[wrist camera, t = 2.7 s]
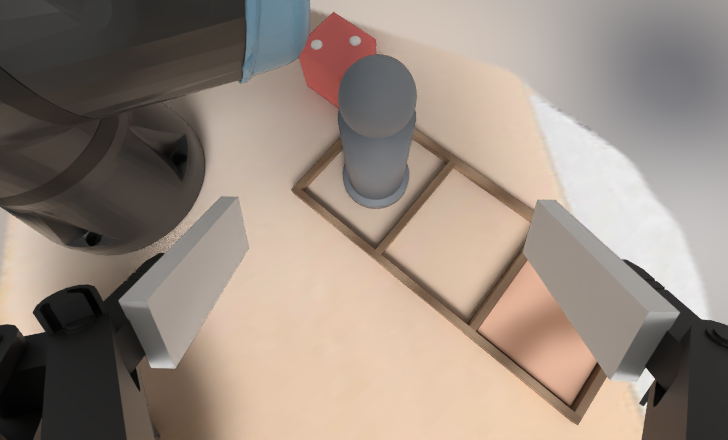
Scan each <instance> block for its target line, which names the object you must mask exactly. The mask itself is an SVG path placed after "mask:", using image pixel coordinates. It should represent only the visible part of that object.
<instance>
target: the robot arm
mask: <svg viewBox="0 0 728 440" xmlns="http://www.w3.org/2000/svg"><path fill="white" fill-rule="evenodd" d="M309 28H310V0H0V207H1V208H3V209H4V210H6V211H7V212H9V213H10V214H12V215H13V216H15V217H16V218H18V219H19V220H21V221H22V222H24V223H25V224H27V225H28V226H30V227H31V228H33V229H34V230H36V231H37V232H39V233H40V234H42V235H44V236H45V237H47V238H48V239H50V240H51V241H53V242H55V243H57V244H60V245H62V246H65V247H68V248H71V249H75V250H80V251H84V252H89V253H94V254H100V255H116V254H123V253H128V252H132V251H135V250H139V249H141V248H144V247H146V246H148V245H150V244H152V243H154V242H156V241H158V240H159V239H161V238H162V237H164V236H165V235H166V234H168V233H169V232H170V231H171V230H173V229H174V228H175V227H176V226H177V225H178V224H179V223H180V222H181V221H182V220H183V218H184V217H185V216H186V215H187V213H188V212H189V211H190V209H191V208H192V206H193V204H194V202H195V201H196V199H197V196H198V194H199V192H200V189H201V186H202V182H203V177H204V155H203V150H202V147H201V144H200V141H199V139H198V137H197V136H196V134H195V133H194V131H193V130H192V129H191V128H190V127H189V125H188V124H187V123H186V122H185V121H184V120H183V119H182V118H181V117H180V116H179V115H178V114H177V113H175V112H174V111H173V110H172V109H170V108H169V107H168V106H166V105H164V104H163V103H161V102H163V101H166V100H170V99H173V98H177V97H180V96H184V95H188V94H191V93H195V92H198V91H202V90H206V89H209V88H213V87H216V86H220V85H223V84H227V83H231V82H234V81H238V82H239V83H245V82H247V81H248V80H250V79H251V77H252V76H254V75H257V74H260V73H263V72H266V71H269V70H272V69H275V68H278V67H281V66H284V65H287V64H289V63H291V62H293V61H294V60H296V59H297V58H298V57H299V55H300V54H301V52H302V51H303V49H304V47H305V45H306V42H307V40H308V36H309ZM248 249H249V245H248V241H247V236H246V231H245V227H244V222H243V217H242V212H241V208H240V203H239V198H238V197H220V198H219V199H218V200H217V202H216V203H215V204H214V205H213V206H212V207H211V208H210V209H209V210H208V211H207V212H206V213H205V214H204V215H203V216H202V217H201V218H200V219H199V220H198V221H197V222H196V223H195V224H194V225H193V226H192V227H191V228H190V229H189V230H188V231H187V232H186V233H185V234H184V235H183V236H182V237H181V238H180V239H179V240H178V241H177V242H176V243H175V244H174V245H173V246H172V247H171V248H170V249H169V250H168V251H167V252H166V253H159V254H157V255H156V256H154V257H152V258H150V259H149V260H147V261H145V262H144V263H143V264H142V265H141V266H140V267H139V268H138V269H137V270H136V273H133V274H132V275H131V276H130V277H129V278H128V280H127V281H125V282H124V283H123V284H121V285H120V286H119V287H118V288H117V289H116V290H115V291H114V292H113V293H112V294H111V295H110V296H109V297H108V298H107V299H106V300H105V301H104V302H103V300H102V298H101V296H100V294H99V293H98V291H97V289H96V288H95V286H91V285H77V286H73V287H69V288H65V289H63V290H60V291H58V292H56V293H54V294H52V295H50V296H49V297H47V298H45V299H44V300H42V301H41V302H40V303H39V304H38V305H37V306H36V307H35V309H34V311H33V314H34V315H35V317H36V318H37V320H38V321H39V323H40V324H41V326H42V327H43V329H44V330H45V332H43V333H38V334H34V335H29V336H23V335H22V333H21V332H20V331H19V329H18V328H17V327H16V326H15V325H9V324H6V325H0V440H154V435H153V430H152V426H151V421H150V416H149V411H148V406H147V402H146V397H145V392H144V387H143V383H142V378H141V373H140V371H139V369H138V367H137V365H138V364H139V362H140V361H141V360H142V358H143V357H144V356H146V358H147V360H148V362H149V364H150V366H151V368H176V367H177V365H178V363H179V362H180V360H181V359H182V357H183V355H184V354H185V352H186V350H187V349H188V347H189V346H190V344H191V342H192V341H193V339H194V337H195V336H196V334H197V332H198V331H199V329H200V328H201V326H202V324H203V323H204V321H205V319H206V318H207V316H208V315H209V313H210V311H211V310H212V308H213V306H214V305H215V303H216V301H217V300H218V298H219V297H220V295H221V293H222V292H223V290H224V288H225V287H226V285H227V284H228V282H229V280H230V279H231V277H232V275H233V274H234V272H235V270H236V269H237V267H238V266H239V264H240V262H241V261H242V259H243V257H244V256H245V254H246V253H247V251H248ZM523 254H524V255H525V257H526V258H527V259H528V261H529V262H530V264H531V265H532V267H533V268H534V270H535V271H536V273H537V274H538V276H539V277H540V279H541V280H542V281H543V283H544V284H545V286H546V287H547V289H548V290H549V292H550V293H551V295H552V296H553V298H554V299H555V300H556V302H557V303H558V305H559V306H560V308H561V309H562V311H563V312H564V314H565V315H566V317H567V318H568V320H569V321H570V322H571V324H572V325H573V327H574V328H575V330H576V331H577V333H578V334H579V336H580V337H581V339H582V340H583V342H584V343H585V344H586V346H587V347H588V349H589V350H590V352H591V353H592V355H593V356H594V358H595V359H596V361H597V362H598V364H599V365H600V366H601V368H602V369H603V371H604V372H605V374H606V375H607V377H608V378H609V380H610V381H637V380H638V379H639V377H640V376H641V374H642V372H643V371H644V369H645V368H647V369H648V371H649V372H650V373H651V374H652V375H653V377H654V378H655V380H654V382H653V383H652V385H651V386H650V388H649V389H648V391H647V392H646V394H645V395H644V397H643V398H642V400H641V401H640V403H639V404H641V405H643V406H644V405H645V404H646V402H647V409H646V415H645V422H644V428H643V435H642V440H728V326H727V325H725V324H722V323H719V322H715V321H712V320H701V319H700V318H699V317H698V316H697V315H696V314H694V313H693V312H692V311H691V310H690V309H689V308H687V307H686V306H685V305H684V304H683V303H682V302H680V301H679V300H678V299H677V298H676V297H675V296H674V295H672V294H671V293H670V292H669V291H668V290H665V289H664V287H663V286H662V285H661V284H660V283H659V282H657V281H655V279H654V278H653V277H652V276H650V275H649V274H648V273H647V272H646V271H645V270H643V269H642V268H640V267H639V266H637V265H635V264H633V263H631V262H630V261H628V260H621V259H620V258H619V257H618V256H617V255H616V254H615V253H614V252H613V251H611V250H610V249H609V248H608V247H607V246H606V245H605V244H604V243H603V242H601V241H600V240H599V239H598V238H597V237H596V236H595V235H594V234H593V233H591V232H590V231H589V230H588V229H587V228H586V227H585V226H584V225H583V224H581V223H580V222H579V221H578V220H577V219H576V218H575V217H574V216H573V215H572V214H570V213H569V212H568V211H567V210H566V209H565V208H564V207H563V206H562V205H560V204H559V203H558V202H557V201H556V200H537V203H536V206H535V210H534V214H533V217H532V221H531V224H530V228H529V232H528V235H527V239H526V242H525V246H524V250H523Z"/></svg>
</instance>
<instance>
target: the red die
mask: <svg viewBox="0 0 728 440" xmlns="http://www.w3.org/2000/svg"><path fill="white" fill-rule="evenodd" d="M369 55H376V39H374V38H373V37H371V36H370V35H368V34H367V33H365V32H364V31H362V30H361V29H359V28H357V27H356V26H354V25H353V24H351V23H350V22H348V21H347V20H345V19H344V18H342V17H341V16H339V15H337V14H336V13H334V12H333V13H332V14H331V15H330V16H329V17H328V18H327V19H325V20H324V21H323V22H322V23H321V24H320V25H319V26H318V27H317V28H316V29H315V30H314V31H313V32H312V33H311V34H309V36H308V40H307V42H306V45H305V47H304V49H303V51H302V52H301V54H300V55H299V59H300V62H301V66H302V69H303V73H304V76H305V79H306V83H307V85H308V86H309V87H310V88H312V89H313V90H314V91H316V92H317V93H319V94H320V95H321V96H323V97H324V98H326V99H327V100H328V101H330V102H331V103H332V104H334V105H335V106H337V107H338V108H339V105H338V90H339V85H340V82H341V79H342V77H343V75H344V74H345V72H346V71H347V69H348V68H349V67H350V66H351V65H352V64H353V63H355V62H356V61H357V60H359V59H361V58H363V57H366V56H369Z"/></svg>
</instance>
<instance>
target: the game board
mask: <svg viewBox="0 0 728 440" xmlns="http://www.w3.org/2000/svg"><path fill="white" fill-rule="evenodd" d="M412 139H413V140H415V141H416V142H418V143H419V144H421V145H422V146H423V147H425V148H426V149H428V150H429V151H430V152H432V153H433V154H435V155H436V156H438V157H439V158H440V159H442V160H443V161H445V162H446V163H447V165H446V166H445V167H444V168H443V169H442V171H441V172H440V173H439V174H438V175H437V177H436V178H435V179H434V180H433V181H432V183H431V184H430V185H429V186H428V187H427V189H426V190H425V191H424V192H423V193H422V195H421V196H420V197H419V198H418V199H417V201H416V202H415V203H414V204H413V205H412V206H411V208H410V209H409V210H408V211H407V212H406V214H405V215H404V216H403V217H402V218H401V220H400V221H399V222H398V223H397V224H396V226H395V227H394V228H393V229H392V230H391V232H390V233H389V234H388V235H387V236H386V238H385V239H384V240H383V241H382V242H381V244H380V245H379V246H378V247H377V248H376V250H375V249H374V248H373V247H371V246H370V245H369V244H368V243H366V242H365V241H364V240H363V239H361V238H360V237H359V236H358V235H357V234H355V233H354V232H353V231H352V230H350V229H349V228H348V227H347V226H345V225H344V224H343V223H342V222H341V221H339V220H338V219H337V218H336V217H334V216H333V215H332V214H331V213H330V212H328V211H327V210H326V209H325V208H323V207H322V206H321V205H320V204H318V203H317V202H316V201H315V200H314V199H312V198H311V197H310V196H309V195H307V194H306V193H305V192H304V190H305V189H306V188H307V186H308V185H309V184H310V183H311V182H312V181H313V180H314V179H315V178H316V177H317V176H318V175H319V174H320V173H321V171H322V170H323V169H324V168H325V167H326V166H327V165H328V164H329V163H330V162H331V161H332V160H333V159H334V158H335V157H336V155H337V154H338V153H339V152H340V151H341V150H342V149H343V145H342V140H341V138H340V139H339V140H338V141H337V142H336V143H335V144H334V145H333V146H332V147H331V148H330V149H329V150H328V151H327V152H326V153H325V154H324V156H323V157H322V158H321V159H320V160H319V161H318V162H317V163H316V164H315V165H314V166H313V167H312V168H311V169H310V170H309V171H308V172H307V173H306V175H305V176H304V177H303V178H302V179H301V180H300V181H299V182H298V183H297V184H296V185H295V186H294V187H293V188H292V189H291V190H292V192H293V193H294V194H295V195H296V196H298V197H299V198H300V199H301V200H303V201H304V202H305V203H306V204H307V205H309V206H310V207H311V208H312V209H314V210H315V211H316V212H317V213H318V214H320V215H321V216H322V217H323V218H324V219H326V220H327V221H328V222H329V223H331V224H332V225H333V226H334V227H335V228H337V229H338V230H339V231H340V232H341V233H343V234H344V235H345V236H346V237H348V238H349V239H350V240H351V241H352V242H354V243H355V244H356V245H357V246H358V247H360V248H361V249H362V250H363V251H365V252H366V253H367V254H368V255H369V256H371V257H372V258H373V259H374V260H375V261H377V262H378V263H379V264H380V265H382V266H383V267H384V268H385V269H386V270H388V271H389V272H390V273H391V274H393V275H394V276H395V277H396V278H397V279H399V280H400V281H401V282H402V283H403V284H405V285H406V286H407V287H408V288H410V289H411V290H412V291H413V292H414V293H416V294H417V295H418V296H419V297H420V298H422V299H423V300H424V301H425V302H427V303H428V304H429V305H430V306H431V307H433V308H434V309H435V310H436V311H437V312H439V313H440V314H441V315H442V316H444V317H445V318H446V319H447V320H448V321H450V322H451V323H452V324H453V325H455V326H456V327H457V328H458V329H459V330H461V331H462V332H463V333H464V334H465V335H467V336H468V337H469V338H470V339H472V340H473V341H474V342H475V343H476V344H478V345H479V346H480V347H481V348H482V349H484V350H485V351H486V352H487V353H489V354H490V355H491V356H492V357H493V358H495V359H496V360H497V361H498V362H499V363H501V364H502V365H503V366H504V367H506V368H507V369H508V370H509V371H510V372H512V373H513V374H514V375H515V376H516V377H518V378H519V379H520V380H521V381H523V382H524V383H525V384H526V385H527V386H529V387H530V388H531V389H532V390H534V391H535V392H536V393H537V394H538V395H540V396H541V397H542V398H543V399H544V400H546V401H547V402H548V403H549V404H551V405H552V406H553V407H554V408H555V409H557V410H558V411H559V412H560V413H561V414H563V415H564V416H565V417H566V418H568V419H569V420H570V421H571V422H573V423H575V424H576V425H578V424H579V423H580V421H581V419H582V418H583V416H584V414H585V413H586V411H587V409H588V408H589V406H590V404H591V402H592V401H593V399H594V397H595V396H596V394H597V392H598V391H599V389H600V387H601V386H602V384H603V382H604V381H605V379H606V377H607V375H606V374H605V372H604V371H603V369H602V368H601V366H600V365H599V364H598V362H597V361H596V359H595V358H594V356H593V355H592V353H591V352H590V350H589V349H588V347H587V346H586V344H585V343H584V342H583V340H582V339H581V337H580V336H579V334H578V333H577V331H576V330H575V328H574V327H573V325H572V324H571V322H570V321H569V320H568V318H567V317H566V315H565V314H564V312H563V311H562V309H561V308H560V306H559V305H558V303H557V302H556V300H555V299H554V298H553V296H552V295H551V293H550V292H549V290H548V289H547V287H546V286H545V284H544V283H543V281H542V280H541V279H540V277H539V276H538V274H537V273H536V271H535V270H534V268H533V267H532V265H531V264H530V262H529V261H528V259H527V258H526V257H525V255H524V254H523V250H524V247H523V249H522V250H521V251H520V253H519V254H518V255H517V257H516V258H515V260H514V261H513V262H512V264H511V265H510V267H509V268H508V269H507V271H506V272H505V273H504V275H503V276H502V278H501V279H500V280H499V282H498V283H497V285H496V286H495V287H494V289H493V290H492V291H491V293H490V294H489V296H488V297H487V298H486V300H485V301H484V303H483V304H482V305H481V307H480V308H479V309H478V311H477V312H476V314H475V315H474V316H473V318H472V319H471V321H470V322H469V323H468V325H467V324H466V323H465V322H463V321H462V320H461V319H460V318H458V317H457V316H456V315H455V314H454V313H452V312H451V311H450V310H449V309H447V308H446V307H445V306H444V305H442V304H441V303H440V302H439V301H438V300H436V299H435V298H434V297H433V296H431V295H430V294H429V293H428V292H427V291H425V290H424V289H423V288H422V287H420V286H419V285H418V284H417V283H415V282H414V281H413V280H412V279H411V278H409V277H408V276H407V275H406V274H404V273H403V272H402V271H401V270H400V269H398V268H397V267H396V266H395V265H393V264H392V263H391V262H390V261H388V260H387V259H386V258H385V257H384V256H382V253H383V252H384V251H385V250H386V249H387V247H388V246H389V245H390V244H391V243H392V241H393V240H394V239H395V238H396V237H397V235H398V234H399V233H400V232H401V231H402V229H403V228H404V227H405V226H406V225H407V223H408V222H409V221H410V220H411V218H412V217H413V216H414V215H415V214H416V212H417V211H418V210H419V209H420V208H421V206H422V205H423V204H424V203H425V202H426V200H427V199H428V198H429V197H430V196H431V194H432V193H433V192H434V191H435V190H436V188H437V187H438V186H439V185H440V183H441V182H442V181H443V180H444V179H445V177H446V176H447V175H448V174H449V173H450V171H451V170H452V169H453V168H454V169H456V170H457V171H459V172H460V173H462V174H463V175H464V176H466V177H467V178H469V179H470V180H471V181H473V182H474V183H476V184H477V185H479V186H480V187H481V188H483V189H484V190H486V191H487V192H488V193H490V194H491V195H493V196H494V197H496V198H497V199H498V200H500V201H501V202H503V203H504V204H505V205H507V206H508V207H510V208H511V209H513V210H514V211H515V212H517V213H518V214H520V215H521V216H522V217H524V218H525V219H527V220H528V221H529V222H531V221H532V217H533V214H534V211H533V210H531V209H530V208H528V207H527V206H525V205H524V204H523V203H521V202H520V201H518V200H517V199H515V198H514V197H513V196H511V195H510V194H508V193H507V192H505V191H504V190H503V189H501V188H500V187H498V186H497V185H495V184H494V183H493V182H491V181H490V180H488V179H487V178H485V177H484V176H482V175H481V174H480V173H478V172H477V171H475V170H474V169H472V168H471V167H470V166H468V165H467V164H465V163H464V162H462V161H461V160H460V159H458V158H457V157H455V156H454V155H452V154H451V153H450V152H448V151H447V150H445V149H444V148H442V147H441V146H439V145H438V144H437V143H435V142H434V141H432V140H431V139H429V138H428V137H427V136H425V135H424V134H422V133H421V132H419V131H418V130H417V129H415V128H414V131H413V136H412ZM476 331H477V332H478V333H480V334H481V335H482V336H483V337H485V338H486V339H487V340H488V341H489V342H491V343H492V344H493V345H494V346H496V347H497V348H498V349H499V350H501V351H502V352H503V353H504V354H505V355H507V356H508V357H509V358H510V359H512V360H513V361H514V362H515V363H517V364H518V365H519V366H520V367H521V368H523V369H524V370H525V371H526V372H528V373H529V374H530V375H531V376H533V377H534V378H535V379H536V380H537V381H539V382H540V383H541V384H542V385H544V386H545V387H546V388H547V389H548V390H550V391H551V392H552V393H553V394H555V395H556V396H557V397H558V398H560V399H561V400H562V401H563V402H564V403H566V404H567V405H568V406H570V408H569V407H568V406H567V405H565V404H564V403H563V402H562V401H560V400H559V399H558V398H557V397H555V396H554V395H553V394H552V393H551V392H549V391H548V390H547V389H546V388H544V387H543V386H542V385H541V384H539V383H538V382H537V381H536V380H535V379H533V378H532V377H531V376H530V375H528V374H527V373H526V372H525V371H524V370H522V369H521V368H520V367H519V366H517V365H516V364H515V363H514V362H512V361H511V360H510V359H509V358H508V357H506V356H505V355H504V354H503V353H501V352H500V351H499V350H498V349H497V348H495V347H494V346H493V345H492V344H490V343H489V342H488V341H487V340H485V339H484V338H483V337H482V336H481V335H479V334H478V333H477V332H476ZM594 366H595V367H594ZM591 371H592V372H591ZM588 376H589V377H588ZM586 379H587V380H586ZM583 384H584V385H583ZM580 389H581V390H580ZM577 394H578V395H577ZM575 397H576V398H575ZM572 402H573V403H572Z"/></svg>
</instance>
